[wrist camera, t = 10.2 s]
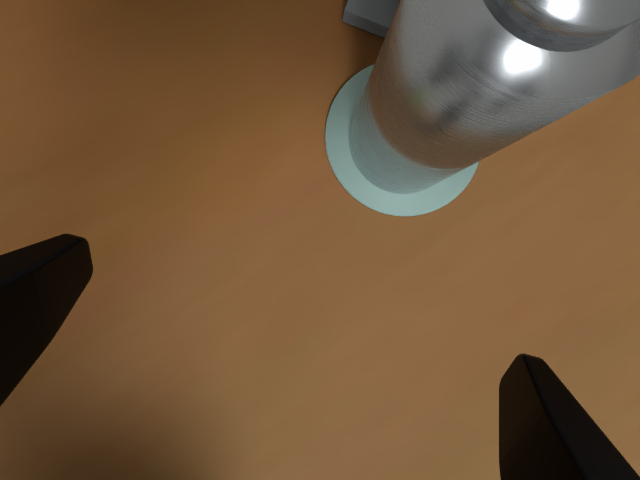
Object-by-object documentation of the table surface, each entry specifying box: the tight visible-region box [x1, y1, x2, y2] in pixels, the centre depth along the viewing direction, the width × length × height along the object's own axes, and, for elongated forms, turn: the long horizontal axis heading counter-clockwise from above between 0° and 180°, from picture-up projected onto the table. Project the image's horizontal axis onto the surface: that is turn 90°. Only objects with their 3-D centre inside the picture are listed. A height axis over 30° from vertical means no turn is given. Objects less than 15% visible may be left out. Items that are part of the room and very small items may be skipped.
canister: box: [349, 0, 640, 194], centre depth 15 cm, size 6×6×14 cm
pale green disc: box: [325, 64, 479, 216], centre depth 22 cm, size 8×8×1 cm
